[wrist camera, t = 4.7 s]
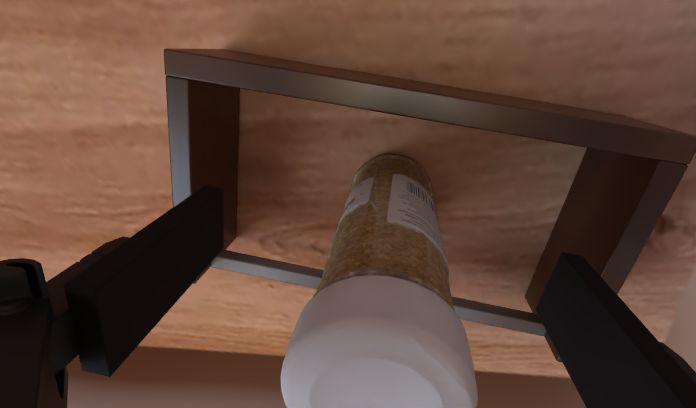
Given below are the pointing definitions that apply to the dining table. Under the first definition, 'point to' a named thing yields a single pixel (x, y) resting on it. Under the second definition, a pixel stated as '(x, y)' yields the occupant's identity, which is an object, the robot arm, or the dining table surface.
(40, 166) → the dining table surface
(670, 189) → the spice rack
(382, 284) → the spice jar
